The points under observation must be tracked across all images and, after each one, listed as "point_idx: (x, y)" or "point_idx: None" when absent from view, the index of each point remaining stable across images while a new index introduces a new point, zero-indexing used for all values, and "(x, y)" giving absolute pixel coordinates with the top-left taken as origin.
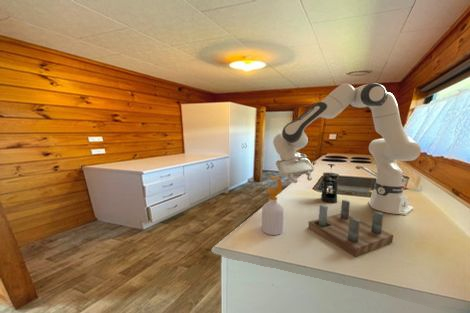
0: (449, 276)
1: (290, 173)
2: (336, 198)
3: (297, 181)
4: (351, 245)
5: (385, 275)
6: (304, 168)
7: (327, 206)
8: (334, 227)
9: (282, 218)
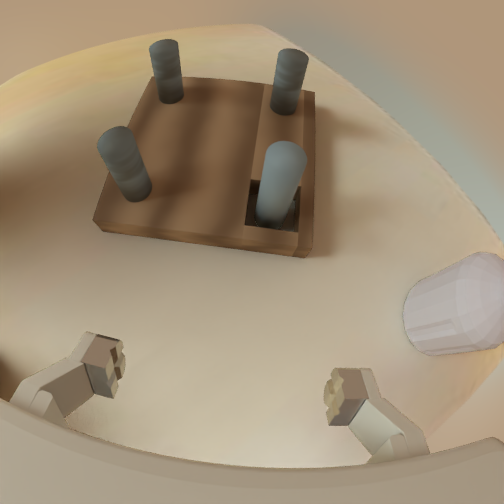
0: (213, 33)
1: (424, 457)
2: None
3: (335, 368)
4: (312, 101)
5: (310, 69)
6: (65, 471)
7: (270, 146)
8: (258, 165)
9: (450, 266)
